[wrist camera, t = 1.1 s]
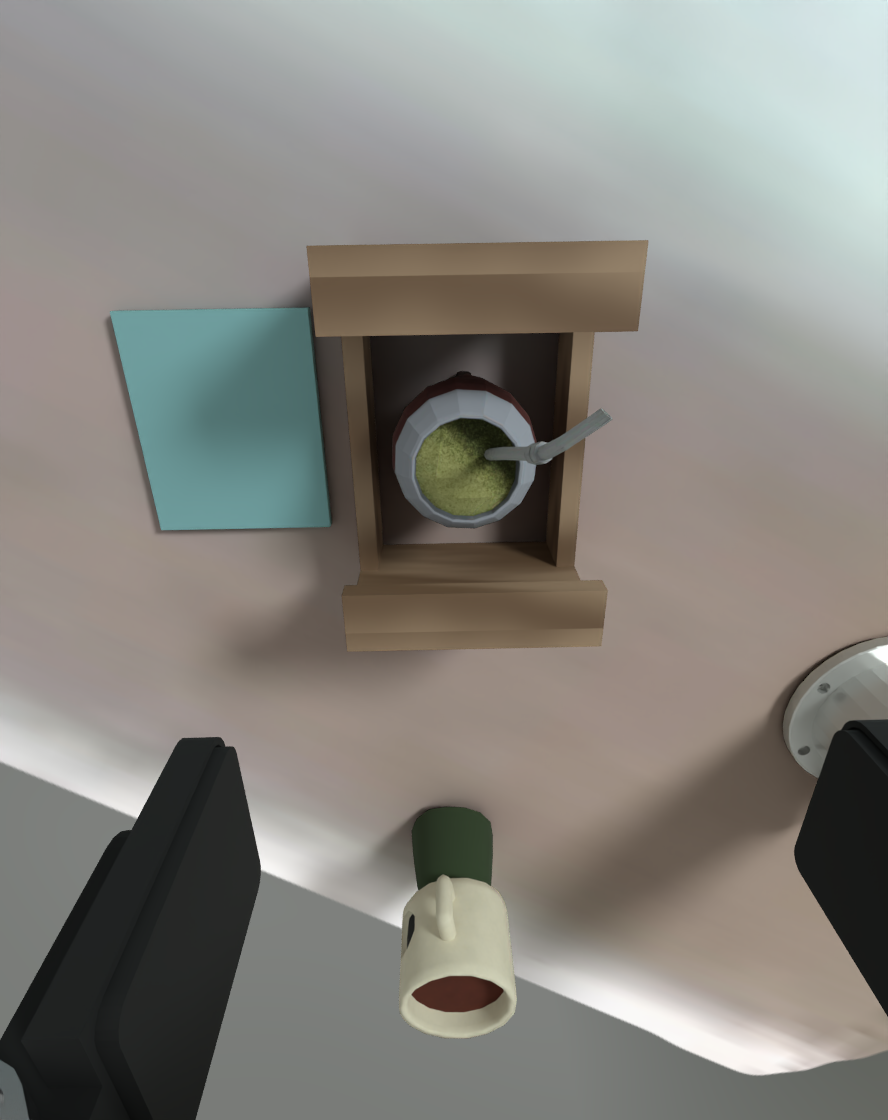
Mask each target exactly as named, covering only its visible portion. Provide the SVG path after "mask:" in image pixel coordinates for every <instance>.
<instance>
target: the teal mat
mask: <svg viewBox="0 0 888 1120" xmlns="http://www.w3.org/2000/svg"><path fill="white" fill-rule="evenodd" d="M110 315H111V319H112V323H113V327H114V332H115V336H116V340H117V344H118V349H119V353H120V357H121V361H122V366H123V370H124V374H125V378H126V383H127V387H128V391H129V395H130V400H131V404H132V408H133V412H134V417H135V421H136V425H137V429H138V434H139V438H140V442H141V446H142V451H143V455H144V459H145V463H146V468H147V472H148V476H149V480H150V485H151V489H152V493H153V497H154V502H155V506H156V510H157V514H158V519H159V523H160V527H161V530H195V529H246V528H297V527H330V526H331V524H332V519H331V510H330V500H329V490H328V480H327V471H326V461H325V451H324V441H323V432H322V422H321V412H320V402H319V392H318V383H317V373H316V363H315V353H314V344H313V334H312V324H311V314H310V307H309V308H249V309H190V310H130V311H110Z"/></svg>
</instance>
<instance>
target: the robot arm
mask: <svg viewBox="0 0 888 1120" xmlns="http://www.w3.org/2000/svg"><path fill="white" fill-rule="evenodd" d="M783 735H784V740H785V743H786V745H787V748H788V750H789V751H790V753H791V754H792V755H793V757H794V758H795V760H796V761H797V762H798V764H799V765H800V766H801V767H802V768H803V769H804V770H805V771H807V772H808V773H810V774H812V775H813V776H815V777H817V778H818V781H817V784H816V787H815V790H814V793H813V796H812V798H811V801H810V804H809V807H808V810H807V813H806V816H805V819H804V822H803V824H802V827H801V830H800V833H799V836H798V839H797V842H796V845H795V849H794V855H795V861H796V864H797V867H798V870H799V872H800V873H801V875H802V877H803V878H804V880H805V882H806V883H807V885H808V887H809V888H810V890H811V892H812V893H813V895H814V896H815V898H816V900H817V901H818V903H819V905H820V906H821V908H822V910H823V911H824V913H825V915H826V916H827V918H828V919H829V921H830V923H831V924H832V926H833V928H834V929H835V931H836V933H837V934H838V936H839V937H840V939H841V941H842V942H843V944H844V946H845V947H846V949H847V951H848V952H849V954H850V955H851V957H852V959H853V960H854V962H855V964H856V965H857V967H858V969H859V970H860V972H861V973H862V975H863V977H864V978H865V980H866V982H867V983H868V985H869V987H870V988H871V990H872V992H873V993H874V995H875V996H876V998H877V1000H878V1001H879V1003H880V1005H881V1006H882V1008H883V1010H884V1011H885V1013H886V1014H887V1016H888V637H882V638H876V639H873V640H869V641H866V642H862V643H859V644H857V645H854V646H852V647H850V648H848V649H845V650H843V651H841V652H839V653H838V654H836V655H834V656H833V657H831V658H829V659H828V660H826V661H825V662H823V663H822V664H821V665H820V666H818V667H817V668H816V669H815V670H813V671H812V672H811V673H810V674H809V675H808V676H807V677H806V679H805V680H804V681H803V682H802V683H801V684H800V685H799V687H798V688H797V690H796V691H795V693H794V694H793V696H792V697H791V699H790V701H789V704H788V706H787V709H786V711H785V715H784V721H783ZM260 875H261V865H260V859H259V855H258V850H257V845H256V841H255V836H254V831H253V827H252V822H251V818H250V813H249V808H248V804H247V799H246V795H245V790H244V785H243V781H242V776H241V771H240V767H239V762H238V758H237V753H236V750H235V748H234V747H225V744H224V741H223V740H222V738H220V737H206V738H183V739H181V740H180V741H179V742H178V743H177V745H176V746H175V748H174V750H173V752H172V754H171V756H170V758H169V760H168V762H167V764H166V765H165V767H164V769H163V771H162V773H161V775H160V777H159V779H158V781H157V783H156V784H155V786H154V788H153V790H152V792H151V794H150V796H149V798H148V800H147V802H146V803H145V805H144V807H143V809H142V811H141V813H140V815H139V817H138V819H137V821H136V823H135V824H134V826H133V828H132V830H126V831H122V832H120V833H119V834H117V835H116V836H115V837H114V838H113V839H112V841H111V842H110V844H109V845H108V846H107V848H106V850H105V852H104V853H103V855H102V857H101V859H100V860H99V862H98V864H97V866H96V868H95V870H94V871H93V873H92V875H91V877H90V879H89V880H88V882H87V884H86V886H85V888H84V889H83V891H82V893H81V895H80V897H79V899H78V900H77V902H76V904H75V906H74V908H73V910H72V911H71V913H70V915H69V917H68V918H67V920H66V922H65V924H64V926H63V928H62V929H61V931H60V933H59V935H58V937H57V938H56V940H55V942H54V944H53V946H52V947H51V949H50V951H49V953H48V955H47V956H46V958H45V960H44V962H43V964H42V966H41V967H40V969H39V971H38V973H37V975H36V976H35V978H34V980H33V982H32V983H31V985H30V987H29V989H28V991H27V993H26V994H25V996H24V998H23V1000H22V1002H21V1004H20V1006H19V1007H18V1009H17V1011H16V1013H15V1014H14V1016H13V1018H12V1020H11V1021H10V1023H9V1025H8V1027H7V1029H6V1031H5V1032H4V1034H3V1036H2V1038H1V1040H0V1120H195V1119H196V1116H197V1112H198V1108H199V1105H200V1101H201V1097H202V1094H203V1090H204V1086H205V1083H206V1079H207V1075H208V1072H209V1068H210V1064H211V1060H212V1057H213V1053H214V1050H215V1046H216V1042H217V1039H218V1035H219V1031H220V1028H221V1024H222V1021H223V1017H224V1013H225V1010H226V1006H227V1002H228V999H229V995H230V991H231V988H232V984H233V980H234V977H235V973H236V969H237V966H238V962H239V958H240V955H241V951H242V947H243V944H244V940H245V936H246V933H247V929H248V925H249V921H250V918H251V914H252V910H253V907H254V903H255V900H256V896H257V892H258V888H259V883H260Z"/></svg>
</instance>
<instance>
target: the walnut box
mask: <svg viewBox="0 0 888 1120" xmlns="http://www.w3.org/2000/svg"><path fill="white" fill-rule="evenodd" d="M647 248H648V240H640V241H578V242H515V243H453V244H391V245H328V246H307V256H308V266H309V276H310V285H311V295H312V305H313V315H314V325H315V335H316V337H331V336H341V341H342V353H343V365H344V377H345V389H346V401H347V413H348V425H349V437H350V449H351V461H352V473H353V485H354V497H355V509H356V521H357V533H358V545H359V557H360V569H361V571H360V576H359V580H358V584H357V585H345V586H344V589H343V593H342V604H343V614H344V624H345V634H346V644H347V652H353V651H400V650H448V649H495V648H543V647H590V646H601V643H602V635H603V626H604V618H605V609H606V600H607V592H608V590H607V588H606V587H605V585H604V583H603V581H602V580H590V581H581V580H580V578H579V576H578V574H577V571H576V569H575V567H574V562H575V551H576V539H577V528H578V516H579V505H580V494H581V482H582V471H583V459H584V448H585V438H584V439H582V440H581V441H579V442H578V443H576V444H575V445H573V446H572V447H570V448H569V449H567V450H566V451H564V452H562V453H560V454H558V455H557V456H555V457H553V458H552V460H551V471H550V486H549V502H548V518H547V533H546V542H497V543H447V544H396V545H383V534H382V519H381V503H380V487H379V472H378V456H377V440H376V425H375V409H374V393H373V378H372V362H371V347H370V336H389V335H448V334H506V333H559V345H558V361H557V376H556V392H555V408H554V424H553V439H552V440H554V439H556V438H558V437H560V436H562V435H563V434H565V433H566V432H567V431H569V430H570V429H572V428H573V427H575V426H576V425H578V424H579V423H581V422H582V421H583V420H585V419H586V418H587V413H588V402H589V391H590V379H591V368H592V356H593V345H594V333H595V332H623V331H638V326H639V317H640V308H641V300H642V291H643V283H644V274H645V266H646V257H647Z"/></svg>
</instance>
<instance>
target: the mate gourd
mask: <svg viewBox="0 0 888 1120" xmlns="http://www.w3.org/2000/svg"><path fill="white" fill-rule="evenodd" d="M611 420H612V418H611V416H610V415H609V414H608V413H607V412H605V411H604V410H603V409H599V410H598V411H596V412H595V413H594V414H592V415H591V416H589V417H588V418H586V419H585V420H583V421H582V422H581V423H579V424H578V425H576V426H575V427H573V428H572V429H570V430H569V431H567V432H566V433H565V434H563V435H562V436H560V437H558V438H556V439H554V440H552V441H551V442H549V443H546V442H543V441H541V442H537V441H536V437H535V434H534V430H533V427H532V424H531V420H530V418H529V415H528V414H527V413H526V412H525V410H524V409H523V408H522V407H521V406H520V404H519V403H518V402H517V401H516V399H515V398H514V397H513V396H512V394H511V393H509V392H508V391H506V390H504V389H502V388H500V387H498V386H496V385H494V384H492V383H490V382H488V381H487V380H485V379H483V378H480V377H476V376H472V375H471V373H470V372H465V371H460V372H458V373H457V376H456V377H453V378H450V379H447V380H445V381H442V382H439V383H436V384H434V385H431V386H428V387H427V388H426V389H425V390H424V391H422V392H421V393H420V394H419V395H418V396H417V397H416V398H415V399H414V400H413V401H412V402H411V403H410V404H409V405H408V406H407V407H406V408H405V409H404V411H403V413H402V415H401V418H400V420H399V422H398V424H397V426H396V429H395V431H394V433H393V447H392V467H393V470H394V472H395V475H396V477H397V480H398V482H399V485H400V487H401V490H402V492H403V494H404V496H405V498H406V499H407V500H408V501H409V502H410V503H411V504H412V505H413V506H414V507H415V508H416V509H417V510H418V511H419V512H420V513H421V514H422V515H423V516H424V517H426V518H428V519H431V520H433V521H435V522H437V523H440V524H442V525H444V526H446V527H456V528H477V527H480V526H483V525H486V524H489V523H492V522H495V521H499V520H500V519H502V518H503V517H504V516H505V515H507V514H508V513H509V512H510V511H512V510H513V509H514V508H515V507H517V506H518V505H519V504H520V503H521V502H522V500H523V498H524V496H525V495H526V493H527V491H528V489H529V488H530V486H531V484H532V482H533V481H534V476H535V468H536V465H540V464H546V463H547V462H549V461H550V460H552V458H553V457H555V456H557V455H558V454H560V453H562V452H564V451H566V450H567V449H569V448H570V447H572V446H573V445H575V444H576V443H578V442H579V441H581V440H582V439H584V438H585V437H587V436H589V435H590V434H592V433H593V432H595V431H596V430H598V429H599V428H601V427H602V426H604V425H605V424H607V423H608V422H609V421H611Z"/></svg>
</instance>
